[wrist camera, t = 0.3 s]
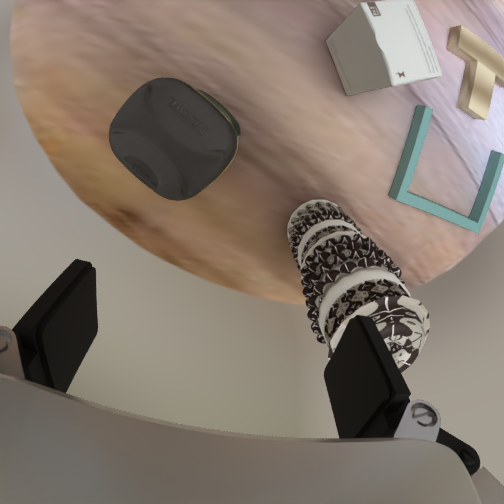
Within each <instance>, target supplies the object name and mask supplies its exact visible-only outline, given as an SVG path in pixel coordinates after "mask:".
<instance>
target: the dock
mask: <svg viewBox="0 0 504 504" xmlns="http://www.w3.org/2000/svg"><path fill="white" fill-rule="evenodd" d="M432 112H433V109H431V108H429V107H427V106H417V107H416V111H415V114H414V118H413V121H412V125H411V128H410V132H409V135H408V138H407V141H406V145H405V148H404V151H403V154H402V157H401V160H400V163H399V166H398V169H397V172H396V175H395V178H394V181H393V184H392V187H391V190H390V193H389V196H391V197H392V198H394V199H395V200H397V201H400V202H403V203H405V204H408V205H411V206H413V207H416V208H418V209H421V210H423V211H426V212H428V213H431V214H433V215H436V216H438V217H441V218H443V219H446V220H448V221H450V222H453V223H455V224H457V225H460V226H462V227H464V228H467V229H469V230H471V231H473V232H476V233H478V234H479V232H480V229H481V227H482V224H483V222H484V219H485V217H486V214H487V212H488V209H489V206H490V203H491V201H492V198H493V195H494V192H495V189H496V186H497V183H498V180H499V177H500V174H501V170H502V167H503V164H504V155H503V154H502V153H499V152H496V151H491V154H490V158H489V161H488V165H487V168H486V171H485V174H484V177H483V180H482V183H481V186H480V189H479V192H478V195H477V198H476V201H475V203H474V206H473V209H472V211H471V214H470V217H469V218H468V217H466V216H464V215H462V214H460V213H457V212H455V211H453V210H451V209H449V208H446V207H444V206H442V205H439V204H437V203H435V202H433V201H430V200H428V199H425V198H423V197H421V196H418V195H416V194H413V193H411V192H408V188H409V186H410V183H411V180H412V177H413V174H414V171H415V168H416V165H417V162H418V159H419V156H420V153H421V149H422V146H423V143H424V140H425V136H426V133H427V130H428V126H429V123H430V119H431V115H432Z"/></svg>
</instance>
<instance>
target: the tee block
mask: <svg viewBox="0 0 504 504" xmlns="http://www.w3.org/2000/svg"><path fill="white" fill-rule="evenodd" d="M447 50H449V51H451V52H452V53H454V54H455V55H457V56H458V57H460V58H461V59H463V60H464V61H465V62H466V66H465V71H464V76H463V81H462V86H461V90H460V95H459V99H458V103H457V108H459V109H460V110H462V111H464V112H465V113H467V114H468V115H470V116H471V117H473V118H474V119H481V120H487V116H488V111H489V107H490V102H491V97H492V92H493V87H494V83H495V84H496V85H497V86H499V87H504V58H503V57H502V56H501V55H500V54H499V53H498V52H496V51H495V50H494V49H493V48H491V47H490V46H489V45H488V44H486V43H485V42H484V41H483V40H481V39H480V38H479V37H477V36H476V35H475V34H473V33H472V32H471V31H469V30H468V29H466V28H465V27H464V26H462V25H459V26H456V27H452V28H450V32H449V38H448V44H447Z"/></svg>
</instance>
